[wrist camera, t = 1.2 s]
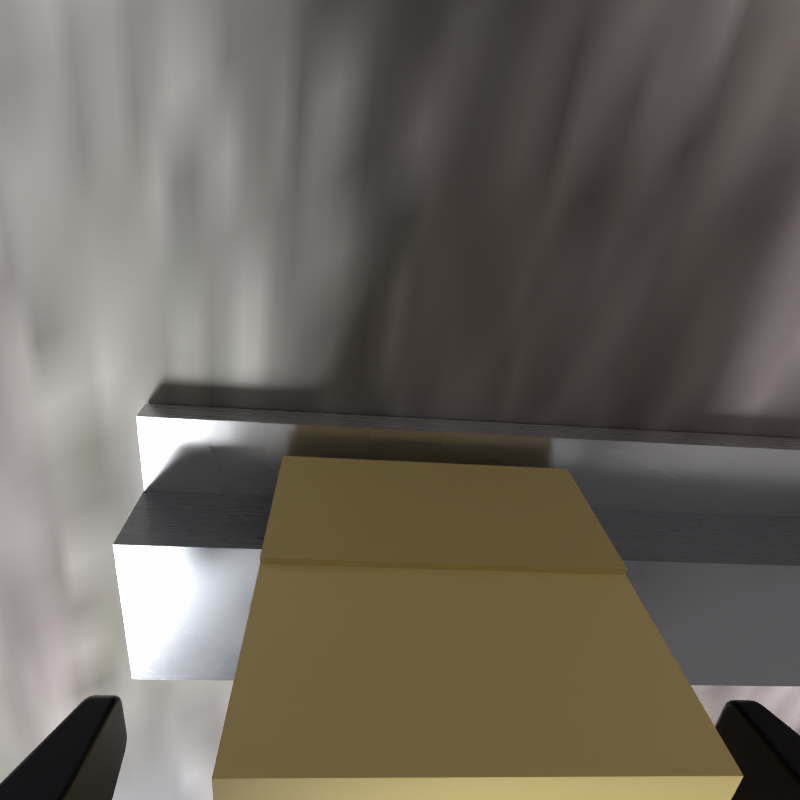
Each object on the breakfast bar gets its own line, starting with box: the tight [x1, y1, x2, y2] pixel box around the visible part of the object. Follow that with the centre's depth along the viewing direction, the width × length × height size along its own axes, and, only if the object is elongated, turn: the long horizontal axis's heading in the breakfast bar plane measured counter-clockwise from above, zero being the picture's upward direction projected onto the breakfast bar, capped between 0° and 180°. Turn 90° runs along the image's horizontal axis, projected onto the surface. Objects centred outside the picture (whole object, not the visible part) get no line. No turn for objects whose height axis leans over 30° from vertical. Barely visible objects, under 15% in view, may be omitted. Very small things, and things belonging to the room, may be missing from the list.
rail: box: [113, 404, 800, 686], centre depth 12 cm, size 22×6×2 cm, turn 85°
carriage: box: [212, 456, 743, 800], centre depth 9 cm, size 5×5×5 cm
